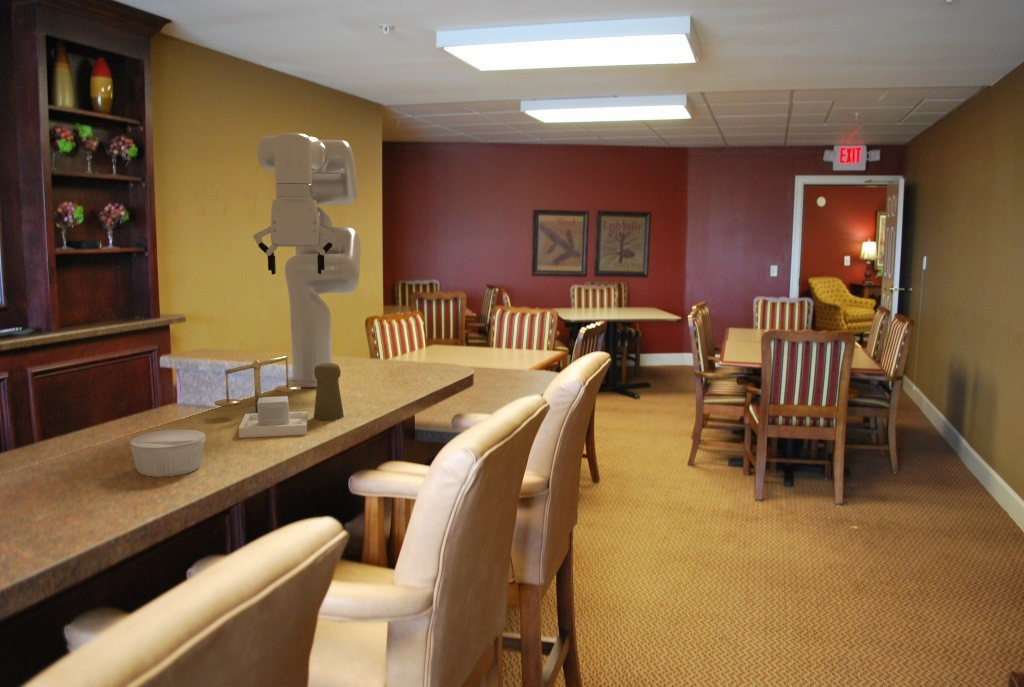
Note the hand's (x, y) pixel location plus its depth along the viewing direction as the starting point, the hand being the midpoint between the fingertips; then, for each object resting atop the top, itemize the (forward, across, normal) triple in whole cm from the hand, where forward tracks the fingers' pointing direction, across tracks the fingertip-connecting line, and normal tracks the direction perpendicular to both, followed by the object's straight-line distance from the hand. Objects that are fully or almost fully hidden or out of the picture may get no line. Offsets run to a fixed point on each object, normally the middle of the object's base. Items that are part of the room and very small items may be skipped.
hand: (296, 273), depth 182 cm
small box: (+27, +4, +24) cm, 37 cm away
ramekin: (+28, +19, +49) cm, 59 cm away
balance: (+28, +8, +12) cm, 32 cm away
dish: (+28, +4, +24) cm, 37 cm away
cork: (+28, -6, +16) cm, 33 cm away
